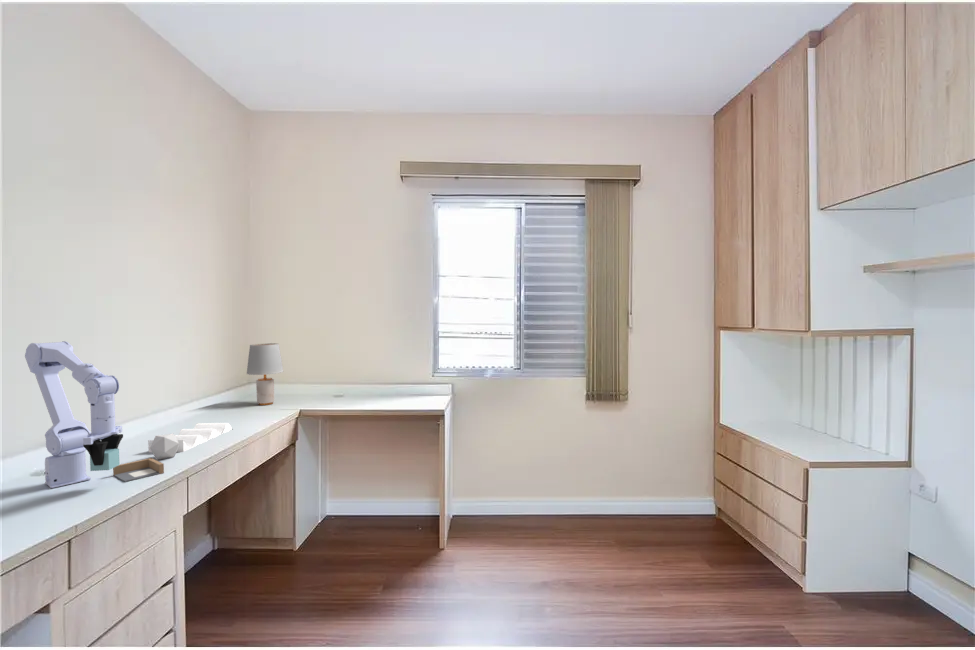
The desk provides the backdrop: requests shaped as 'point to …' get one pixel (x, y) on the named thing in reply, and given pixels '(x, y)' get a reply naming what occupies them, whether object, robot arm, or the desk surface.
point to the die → (164, 446)
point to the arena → (138, 469)
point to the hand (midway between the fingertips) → (104, 462)
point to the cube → (107, 460)
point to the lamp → (264, 369)
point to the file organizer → (198, 435)
